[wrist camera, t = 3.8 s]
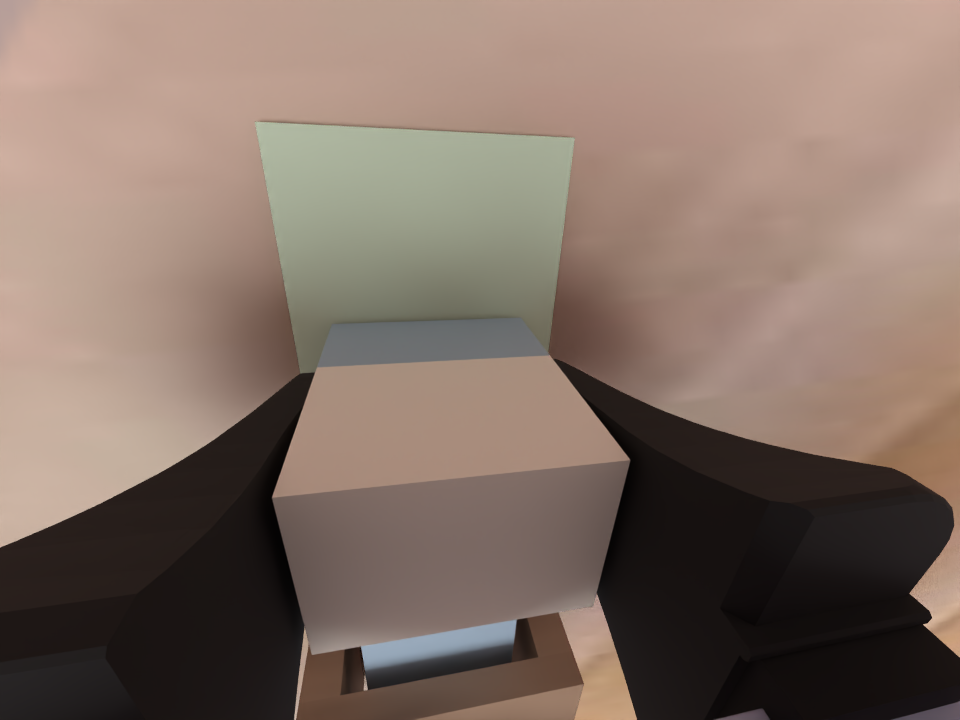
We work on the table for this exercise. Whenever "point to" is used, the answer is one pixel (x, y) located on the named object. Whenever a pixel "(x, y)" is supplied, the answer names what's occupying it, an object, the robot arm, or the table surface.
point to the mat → (414, 226)
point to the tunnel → (454, 685)
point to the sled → (442, 495)
